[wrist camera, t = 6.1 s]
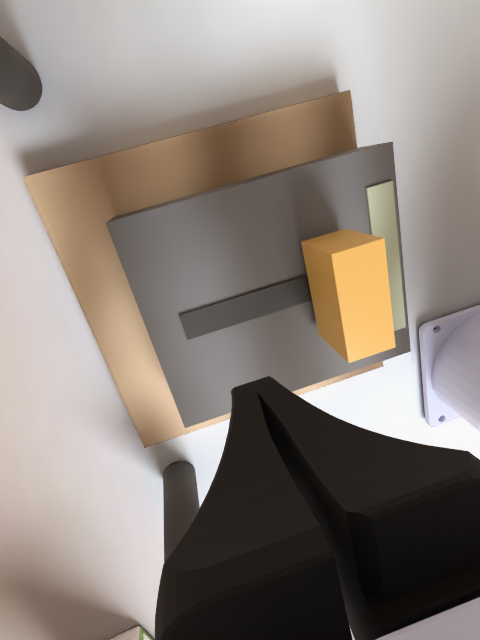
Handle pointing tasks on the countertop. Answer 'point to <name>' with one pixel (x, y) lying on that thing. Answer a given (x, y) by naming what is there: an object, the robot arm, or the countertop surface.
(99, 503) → the countertop surface
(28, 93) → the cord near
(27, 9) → the countertop surface
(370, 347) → the orange cuboid
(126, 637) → the syrup box
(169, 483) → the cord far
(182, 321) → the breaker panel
